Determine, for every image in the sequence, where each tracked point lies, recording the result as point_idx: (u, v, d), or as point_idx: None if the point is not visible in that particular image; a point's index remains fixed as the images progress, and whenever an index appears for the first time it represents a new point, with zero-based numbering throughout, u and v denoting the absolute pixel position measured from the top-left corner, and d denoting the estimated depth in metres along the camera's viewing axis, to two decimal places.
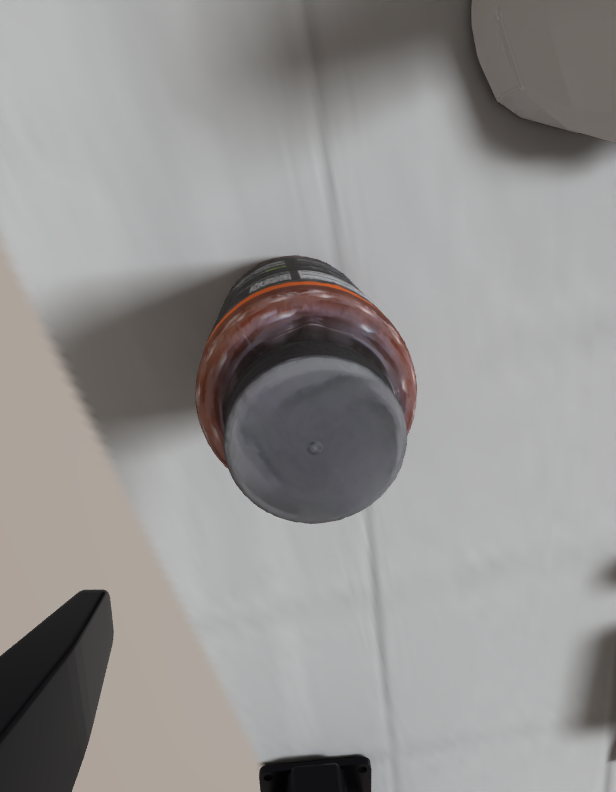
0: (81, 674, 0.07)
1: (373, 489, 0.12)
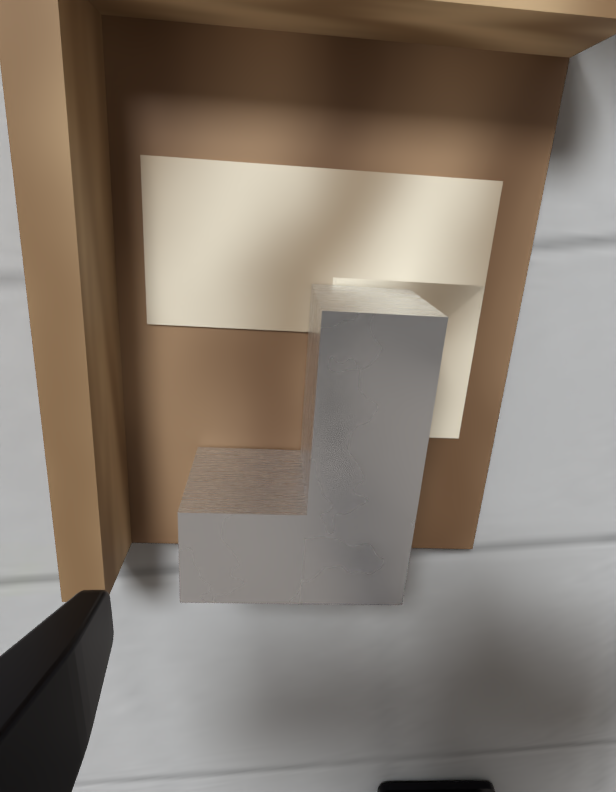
0: (81, 674, 0.07)
1: None
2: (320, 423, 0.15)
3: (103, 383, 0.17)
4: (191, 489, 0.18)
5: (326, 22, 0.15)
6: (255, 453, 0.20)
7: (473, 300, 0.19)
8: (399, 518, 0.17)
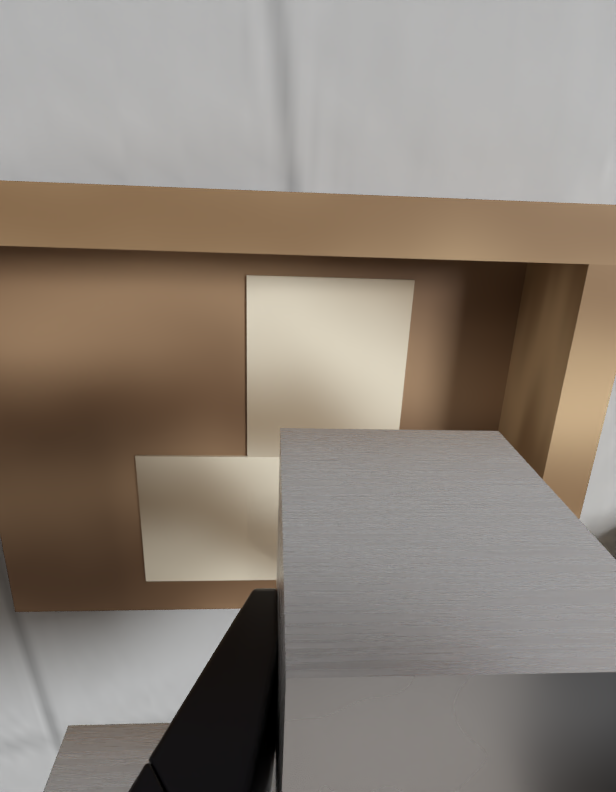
0: None
1: None
2: None
3: None
4: None
5: None
6: None
7: None
8: None
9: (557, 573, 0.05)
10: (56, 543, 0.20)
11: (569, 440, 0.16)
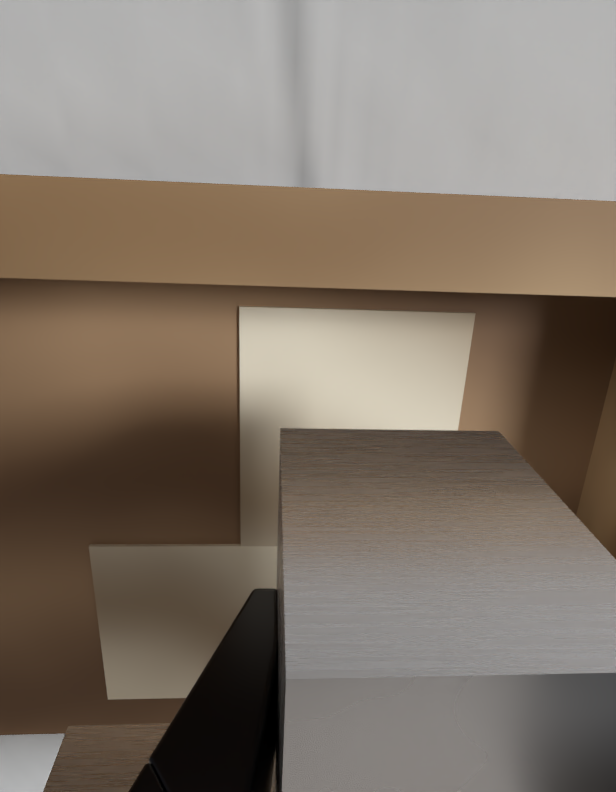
0: None
1: None
2: None
3: None
4: None
5: None
6: None
7: None
8: None
9: (557, 573, 0.05)
10: None
11: None
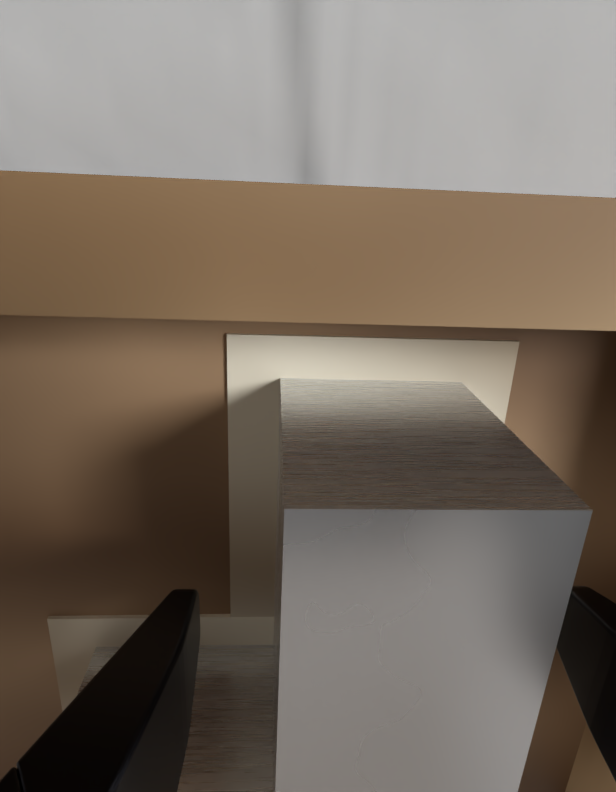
0: (186, 672, 0.07)
1: None
2: (293, 728, 0.07)
3: None
4: None
5: None
6: None
7: None
8: None
9: (490, 462, 0.07)
10: None
11: None
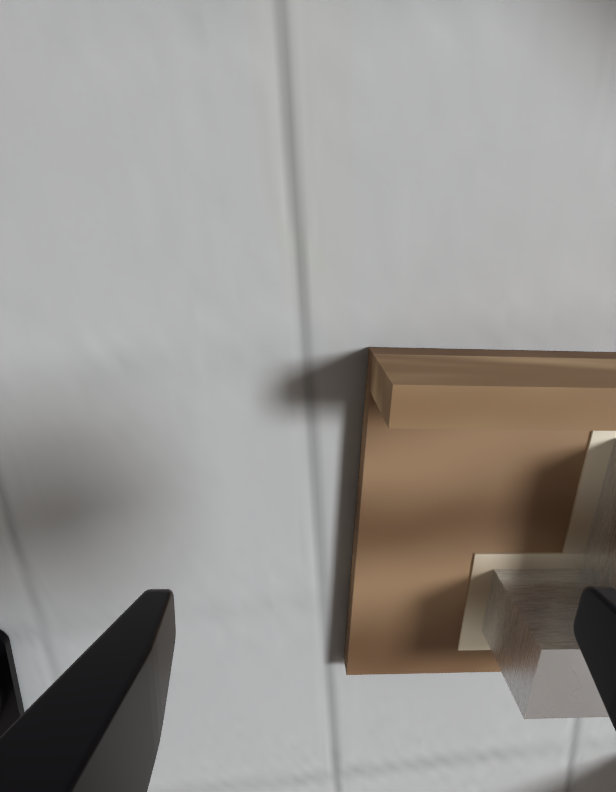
0: (156, 672, 0.07)
1: None
2: None
3: None
4: (530, 621, 0.21)
5: None
6: (546, 574, 0.23)
7: None
8: None
9: None
10: (393, 621, 0.24)
11: None
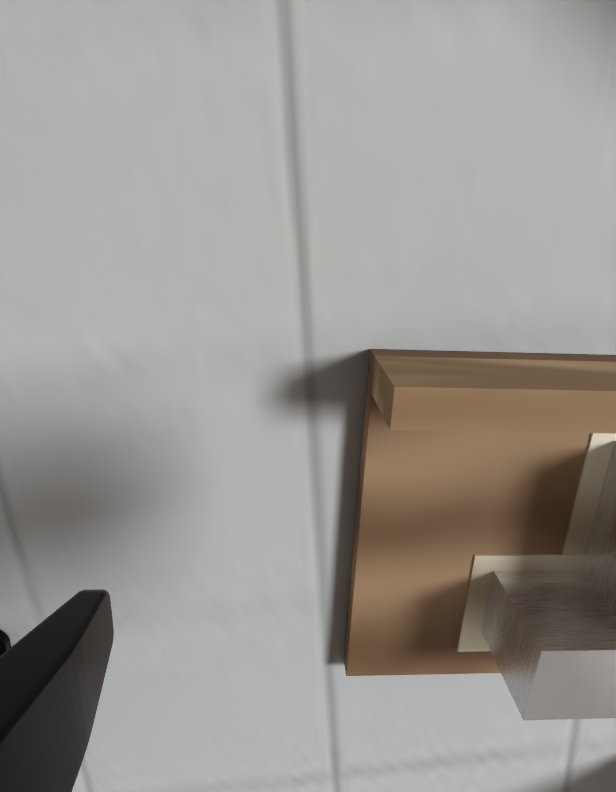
0: (81, 674, 0.07)
1: None
2: None
3: None
4: (530, 623, 0.21)
5: None
6: (545, 576, 0.23)
7: None
8: None
9: None
10: (393, 622, 0.24)
11: None
